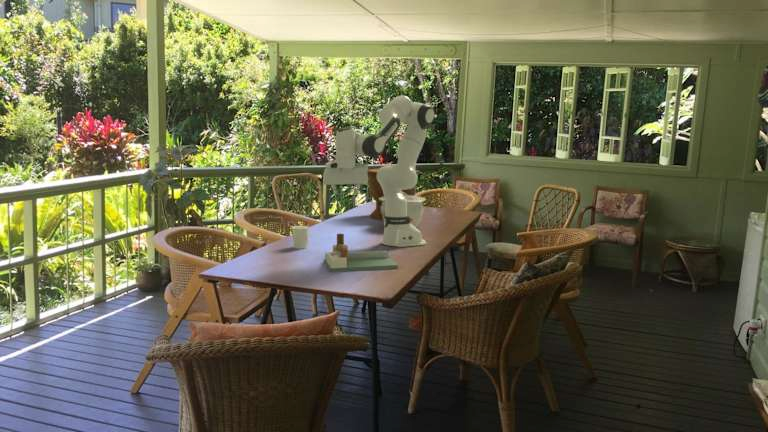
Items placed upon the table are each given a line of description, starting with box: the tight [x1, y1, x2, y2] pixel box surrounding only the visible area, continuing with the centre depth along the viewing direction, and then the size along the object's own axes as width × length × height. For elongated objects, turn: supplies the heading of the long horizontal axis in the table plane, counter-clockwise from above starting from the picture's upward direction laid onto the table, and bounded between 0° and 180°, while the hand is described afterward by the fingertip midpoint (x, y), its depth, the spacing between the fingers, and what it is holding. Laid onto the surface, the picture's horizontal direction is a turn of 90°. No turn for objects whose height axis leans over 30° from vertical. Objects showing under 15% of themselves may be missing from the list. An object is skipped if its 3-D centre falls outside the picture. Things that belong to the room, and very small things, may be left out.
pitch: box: [323, 251, 399, 273], centre depth 270 cm, size 29×17×6 cm, turn 105°
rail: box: [324, 250, 389, 261], centre depth 276 cm, size 28×2×3 cm, turn 105°
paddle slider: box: [332, 233, 349, 258], centre depth 269 cm, size 6×13×11 cm, turn 15°
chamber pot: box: [379, 192, 427, 228], centre depth 362 cm, size 28×28×21 cm
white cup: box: [291, 225, 310, 250], centre depth 305 cm, size 8×8×10 cm
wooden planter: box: [367, 168, 422, 221], centre depth 396 cm, size 34×35×29 cm
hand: (345, 194), depth 284 cm, fingers open, 8 cm apart
